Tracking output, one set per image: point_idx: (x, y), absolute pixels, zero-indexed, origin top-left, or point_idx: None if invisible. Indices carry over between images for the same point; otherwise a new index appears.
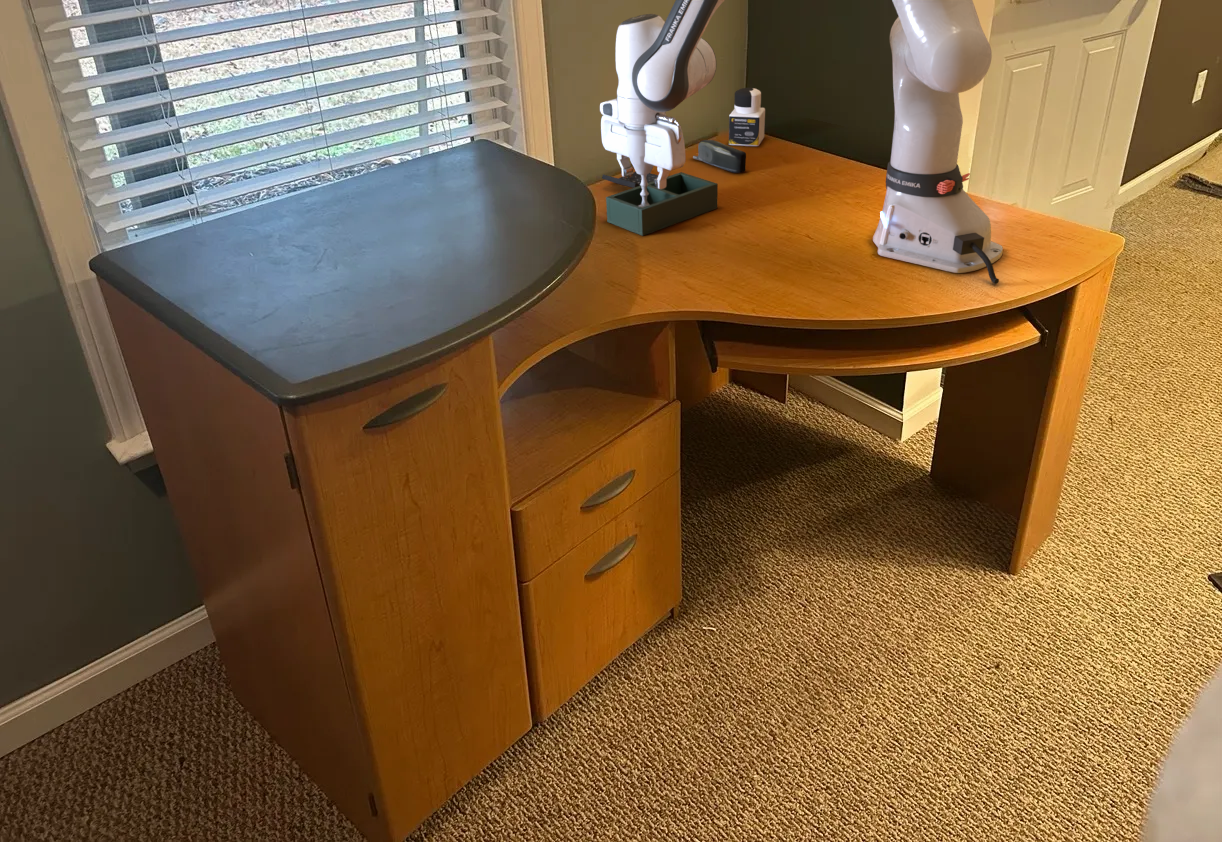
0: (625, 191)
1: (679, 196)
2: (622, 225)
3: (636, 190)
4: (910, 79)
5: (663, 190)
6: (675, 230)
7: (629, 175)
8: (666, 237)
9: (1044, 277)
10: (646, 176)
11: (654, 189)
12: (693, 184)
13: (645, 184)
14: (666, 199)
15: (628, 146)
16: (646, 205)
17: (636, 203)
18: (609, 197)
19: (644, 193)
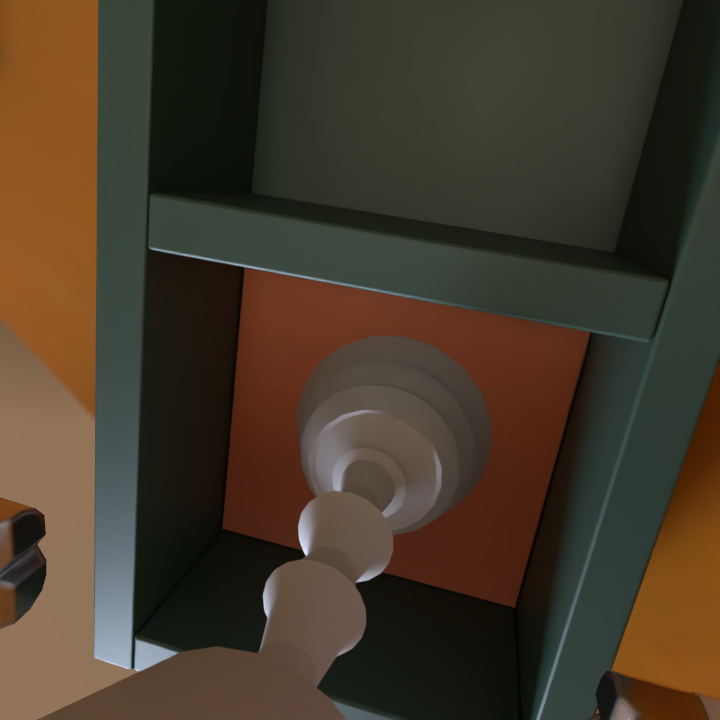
0: (112, 485)
1: (714, 332)
2: None
3: (149, 379)
4: None
5: (400, 261)
6: (706, 447)
7: (20, 565)
8: (716, 584)
9: None
10: (303, 674)
11: (281, 273)
12: None
13: (349, 640)
14: (619, 491)
15: None
16: (397, 492)
17: (210, 348)
18: (120, 655)
19: (364, 575)
